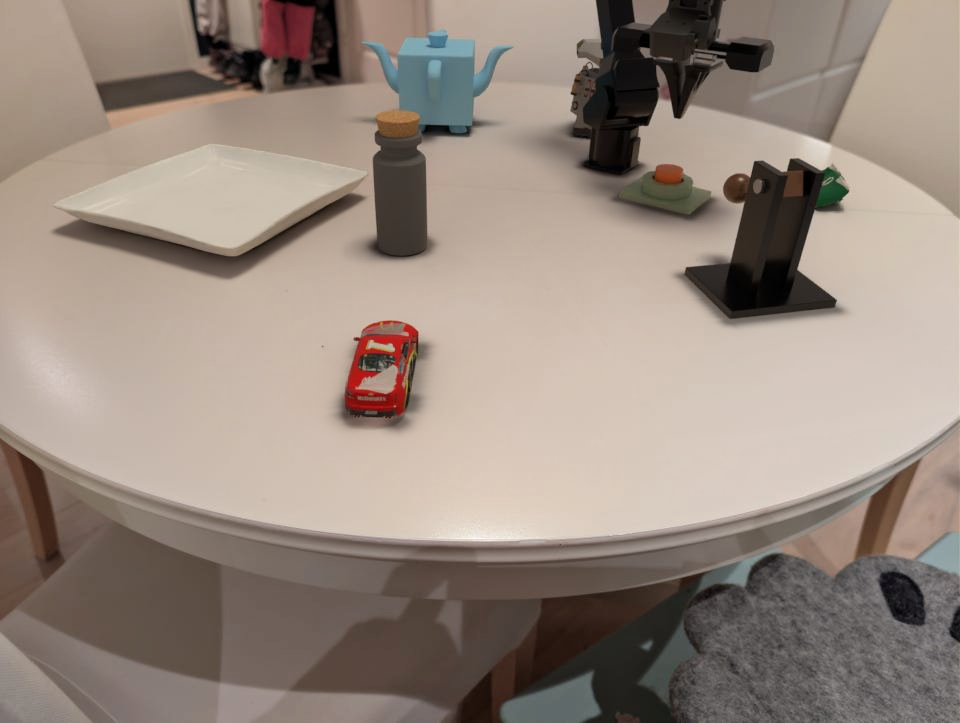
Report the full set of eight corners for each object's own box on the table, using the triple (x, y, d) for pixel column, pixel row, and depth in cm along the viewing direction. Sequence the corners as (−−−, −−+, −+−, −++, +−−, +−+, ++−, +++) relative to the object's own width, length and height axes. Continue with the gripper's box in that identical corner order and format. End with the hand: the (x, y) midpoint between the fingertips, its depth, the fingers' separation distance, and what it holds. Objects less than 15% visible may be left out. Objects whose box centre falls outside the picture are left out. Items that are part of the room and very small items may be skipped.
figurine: (631, 143, 122) (645, 46, 113) (563, 135, 124) (571, 39, 116) (638, 128, 129) (651, 35, 121) (573, 121, 132) (582, 30, 123)
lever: (717, 205, 82) (717, 175, 81) (743, 203, 82) (743, 173, 82) (778, 201, 71) (778, 167, 70) (807, 199, 72) (808, 165, 71)
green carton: (813, 224, 100) (856, 197, 97) (798, 203, 99) (841, 175, 96) (802, 199, 107) (842, 174, 104) (788, 179, 106) (828, 153, 103)
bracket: (683, 276, 82) (707, 153, 74) (779, 267, 84) (812, 147, 77) (729, 321, 74) (761, 189, 66) (834, 310, 76) (877, 180, 69)
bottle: (435, 239, 88) (433, 111, 80) (415, 259, 84) (411, 126, 75) (390, 232, 90) (384, 105, 82) (368, 251, 85) (360, 119, 77)
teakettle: (434, 147, 118) (433, 48, 109) (362, 121, 128) (356, 29, 120) (515, 125, 129) (520, 34, 121) (442, 103, 140) (442, 18, 132)
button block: (618, 199, 101) (621, 178, 99) (642, 183, 106) (645, 162, 104) (688, 217, 96) (692, 195, 94) (710, 199, 102) (714, 178, 100)
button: (649, 181, 99) (651, 169, 98) (660, 174, 102) (662, 162, 101) (675, 187, 98) (677, 174, 97) (685, 180, 100) (687, 167, 99)
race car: (366, 337, 70) (363, 300, 68) (423, 340, 70) (423, 302, 68) (336, 423, 59) (331, 382, 57) (404, 427, 59) (402, 386, 57)
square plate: (374, 196, 100) (372, 168, 97) (237, 280, 79) (232, 246, 77) (215, 163, 109) (210, 137, 106) (56, 231, 88) (46, 199, 86)
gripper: (598, -19, 85) (584, 118, 94) (760, -3, 76) (728, 147, 85) (638, -27, 93) (622, 101, 101) (789, -13, 84) (758, 126, 93)
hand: (678, 118), depth 95 cm, fingers closed
